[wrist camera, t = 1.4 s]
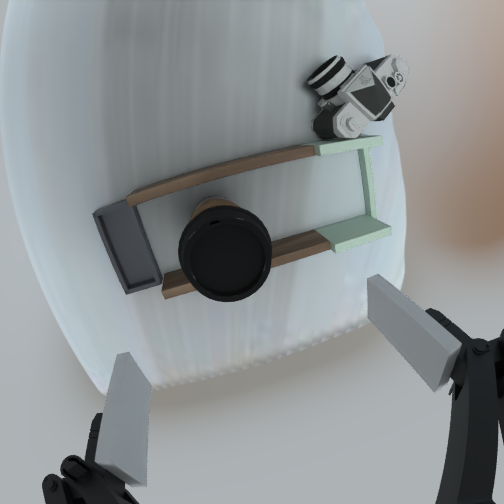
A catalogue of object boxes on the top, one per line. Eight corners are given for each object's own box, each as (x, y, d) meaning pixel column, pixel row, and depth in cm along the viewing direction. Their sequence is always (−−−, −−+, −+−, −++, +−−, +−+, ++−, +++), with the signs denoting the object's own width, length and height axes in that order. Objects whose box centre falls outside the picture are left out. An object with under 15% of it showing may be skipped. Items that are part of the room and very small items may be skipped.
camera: (347, 38, 30) (386, 18, 21) (385, 79, 33) (429, 70, 24) (282, 104, 33) (312, 91, 23) (327, 147, 36) (368, 150, 27)
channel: (134, 190, 33) (125, 197, 28) (298, 145, 35) (313, 145, 30) (167, 281, 38) (165, 299, 34) (315, 237, 40) (330, 249, 36)
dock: (298, 145, 35) (319, 145, 29) (361, 134, 36) (388, 134, 30) (315, 237, 40) (335, 253, 34) (372, 220, 41) (396, 232, 35)
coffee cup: (236, 177, 35) (264, 197, 21) (254, 236, 38) (289, 289, 25) (174, 198, 34) (160, 233, 21) (196, 256, 38) (198, 320, 24)
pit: (96, 210, 33) (92, 213, 31) (132, 196, 33) (129, 199, 31) (128, 288, 37) (126, 294, 36) (162, 278, 38) (161, 284, 36)
